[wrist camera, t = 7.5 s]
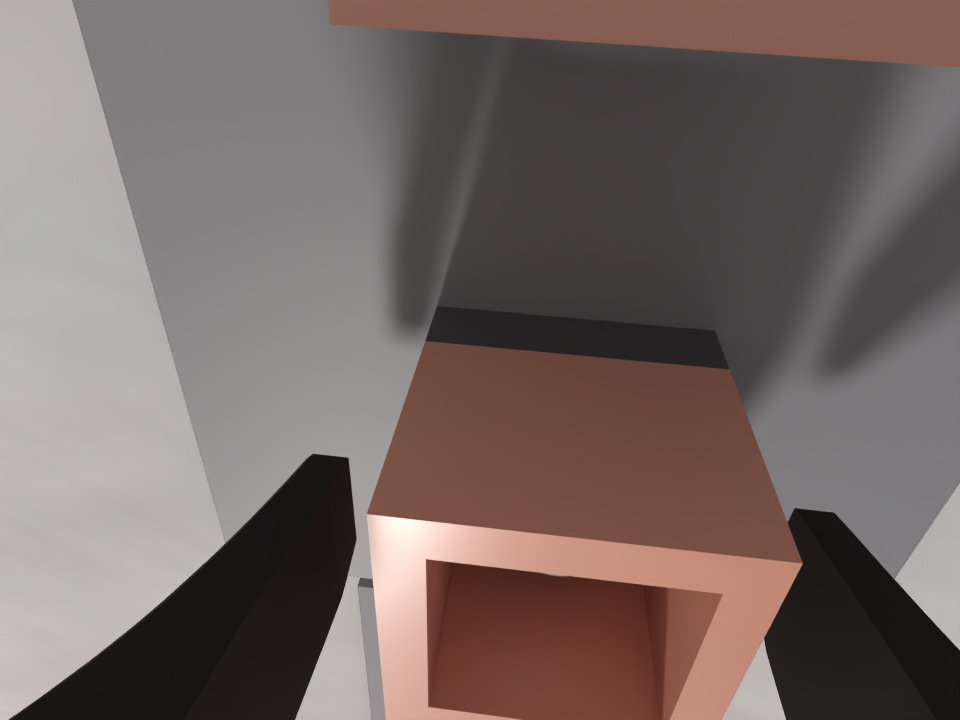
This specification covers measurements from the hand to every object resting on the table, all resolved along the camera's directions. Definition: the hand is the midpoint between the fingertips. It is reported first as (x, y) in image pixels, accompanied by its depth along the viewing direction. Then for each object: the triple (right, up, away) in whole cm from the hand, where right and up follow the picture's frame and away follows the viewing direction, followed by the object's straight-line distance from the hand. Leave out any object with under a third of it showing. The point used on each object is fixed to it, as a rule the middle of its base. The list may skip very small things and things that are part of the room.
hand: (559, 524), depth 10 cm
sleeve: (0, +1, +2) cm, 3 cm away
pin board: (+1, +7, +1) cm, 7 cm away
